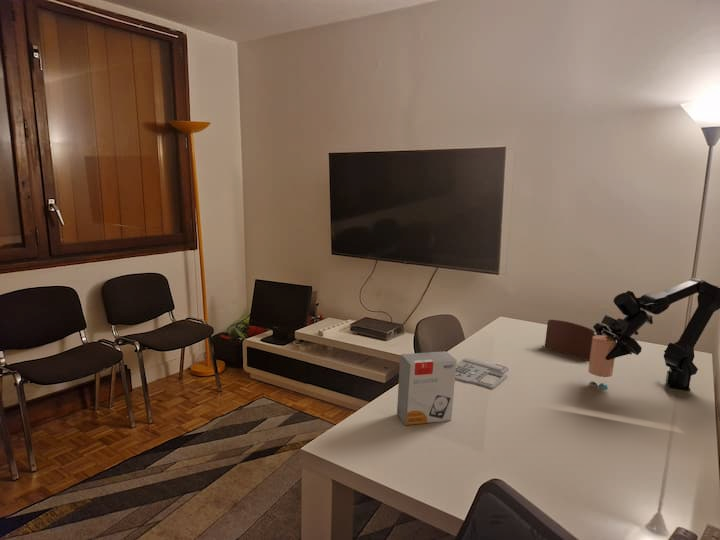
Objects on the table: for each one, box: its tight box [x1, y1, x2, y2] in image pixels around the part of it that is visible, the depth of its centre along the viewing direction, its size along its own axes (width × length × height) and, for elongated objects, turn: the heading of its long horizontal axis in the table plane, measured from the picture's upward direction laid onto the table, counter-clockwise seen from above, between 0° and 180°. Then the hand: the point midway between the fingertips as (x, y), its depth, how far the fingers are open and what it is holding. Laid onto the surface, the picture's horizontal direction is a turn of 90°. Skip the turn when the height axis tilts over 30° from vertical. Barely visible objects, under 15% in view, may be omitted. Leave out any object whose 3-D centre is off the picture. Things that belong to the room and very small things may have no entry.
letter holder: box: [544, 319, 597, 362], centre depth 205 cm, size 10×20×14 cm, turn 43°
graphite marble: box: [588, 381, 599, 389], centre depth 168 cm, size 3×3×3 cm
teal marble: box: [597, 382, 609, 390], centre depth 167 cm, size 3×3×3 cm
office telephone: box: [455, 356, 510, 390], centre depth 181 cm, size 23×3×20 cm
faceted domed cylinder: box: [587, 334, 617, 378], centre depth 166 cm, size 7×7×12 cm
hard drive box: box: [396, 351, 458, 426], centre depth 144 cm, size 16×8×20 cm, turn 105°
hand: (598, 354), depth 165 cm, fingers closed on faceted domed cylinder, 7 cm apart
